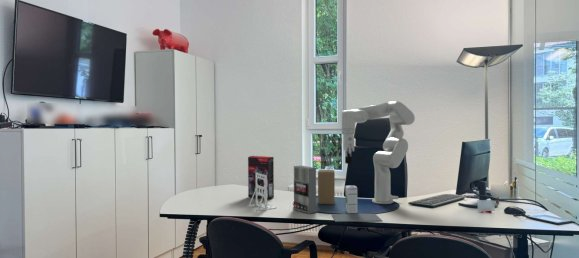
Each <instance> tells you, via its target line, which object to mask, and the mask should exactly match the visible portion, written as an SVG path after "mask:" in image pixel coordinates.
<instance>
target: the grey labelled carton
mask: <svg viewBox="0 0 579 258" xmlns="http://www.w3.org/2000/svg"><path fill="white" fill-rule="evenodd" d="M292 209H293V210H295V211H299V212H302V213H306V214H307V215H310V214H313V213H317V211H318V210H317V168H316V167H313V166H306V165H294V166H293V207H292Z"/></svg>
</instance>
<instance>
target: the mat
mask: <svg viewBox="0 0 579 258" xmlns="http://www.w3.org/2000/svg"><path fill="white" fill-rule="evenodd" d="M331 217H332V218H333V220H334V222H335V223H343V222H344V223H350V222H353V223H354V222H355V223H356V222H361V223H362V222H363V223H364V222H383V220H382V218H381V217H379V216H378V215H377V214H376V213H331Z"/></svg>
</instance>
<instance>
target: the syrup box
mask: <svg viewBox="0 0 579 258" xmlns="http://www.w3.org/2000/svg"><path fill="white" fill-rule="evenodd" d="M344 188H345V192H344V193H345V194H344V195H345V198H344V199H345V212H346V211H347V212H346V214H358V187H357V186H356V185H345V187H344Z"/></svg>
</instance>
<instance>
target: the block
mask: <svg viewBox="0 0 579 258" xmlns="http://www.w3.org/2000/svg"><path fill="white" fill-rule="evenodd" d="M335 181H336V180H335V170H334V169H318V170H317V202H318V203H317V204H318V205H335V196H336V195H335V188H336V187H335V186H336V185H335Z"/></svg>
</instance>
